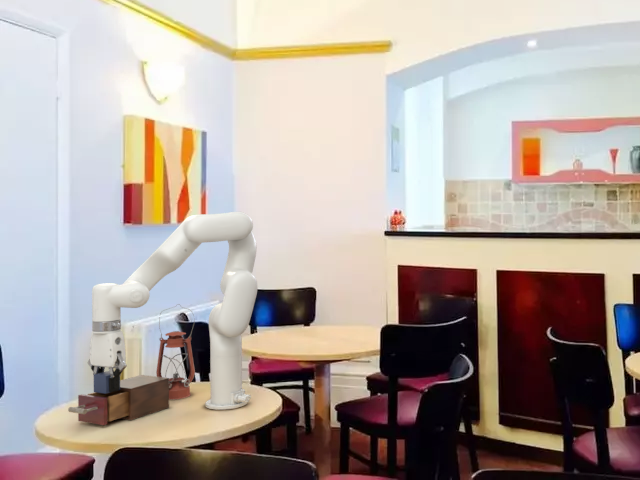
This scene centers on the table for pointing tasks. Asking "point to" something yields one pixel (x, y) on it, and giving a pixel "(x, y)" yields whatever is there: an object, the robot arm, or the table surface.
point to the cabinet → (146, 395)
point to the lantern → (175, 384)
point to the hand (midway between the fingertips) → (107, 389)
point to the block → (102, 382)
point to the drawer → (102, 407)
